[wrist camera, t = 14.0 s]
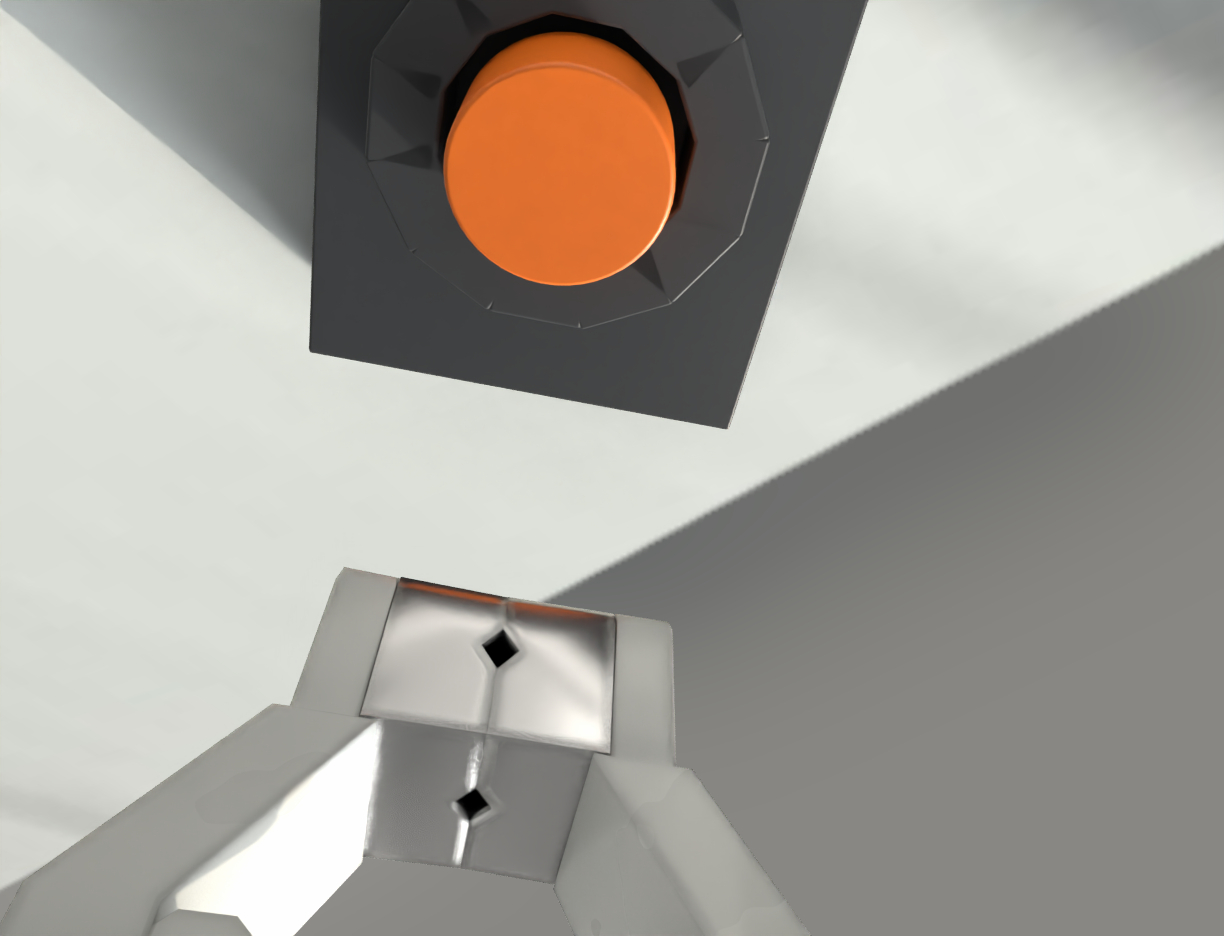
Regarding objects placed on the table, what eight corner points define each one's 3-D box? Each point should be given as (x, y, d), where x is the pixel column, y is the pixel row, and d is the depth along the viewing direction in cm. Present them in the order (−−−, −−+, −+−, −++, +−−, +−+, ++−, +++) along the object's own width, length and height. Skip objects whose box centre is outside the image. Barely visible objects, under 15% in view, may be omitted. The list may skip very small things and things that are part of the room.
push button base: (722, 365, 25) (733, 481, 21) (339, 292, 24) (283, 400, 21) (906, -232, 18) (968, -208, 14) (372, -363, 17) (296, -375, 13)
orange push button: (648, 260, 19) (648, 306, 18) (448, 220, 19) (431, 264, 17) (696, 57, 17) (701, 91, 15) (472, 7, 17) (455, 37, 15)
